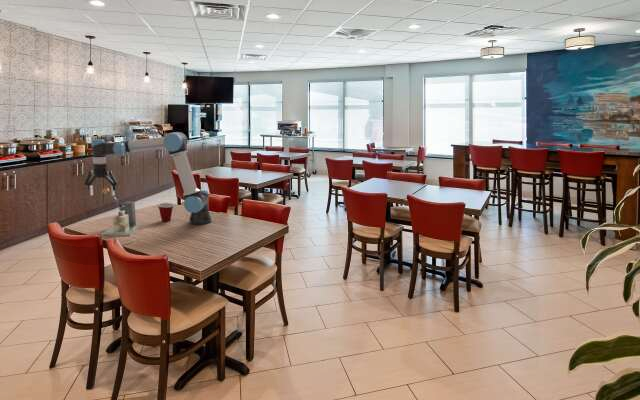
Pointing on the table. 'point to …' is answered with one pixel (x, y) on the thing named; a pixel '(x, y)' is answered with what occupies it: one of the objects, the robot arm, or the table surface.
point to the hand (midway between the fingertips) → (102, 195)
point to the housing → (120, 222)
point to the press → (130, 210)
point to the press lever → (113, 198)
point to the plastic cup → (165, 211)
